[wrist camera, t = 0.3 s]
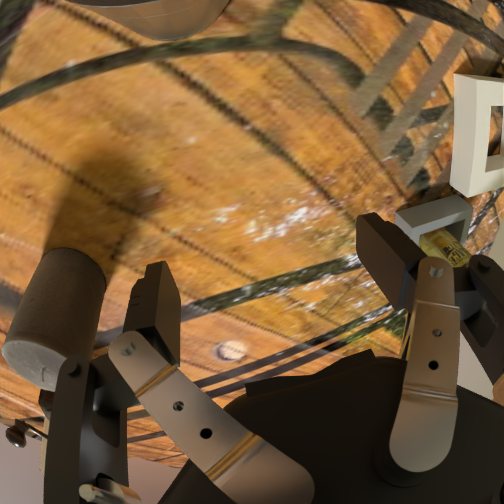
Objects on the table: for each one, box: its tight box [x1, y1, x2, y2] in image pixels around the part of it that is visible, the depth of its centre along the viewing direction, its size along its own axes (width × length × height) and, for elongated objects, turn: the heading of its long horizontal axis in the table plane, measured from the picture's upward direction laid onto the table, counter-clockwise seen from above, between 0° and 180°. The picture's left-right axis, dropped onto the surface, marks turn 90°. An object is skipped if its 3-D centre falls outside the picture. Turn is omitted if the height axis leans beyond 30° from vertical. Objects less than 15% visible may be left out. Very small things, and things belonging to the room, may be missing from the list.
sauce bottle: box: [418, 227, 498, 327], centre depth 31 cm, size 7×6×20 cm
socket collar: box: [449, 73, 504, 198], centre depth 28 cm, size 16×16×4 cm
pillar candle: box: [1, 248, 106, 392], centre depth 26 cm, size 10×10×15 cm
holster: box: [394, 194, 474, 247], centre depth 38 cm, size 12×12×4 cm
